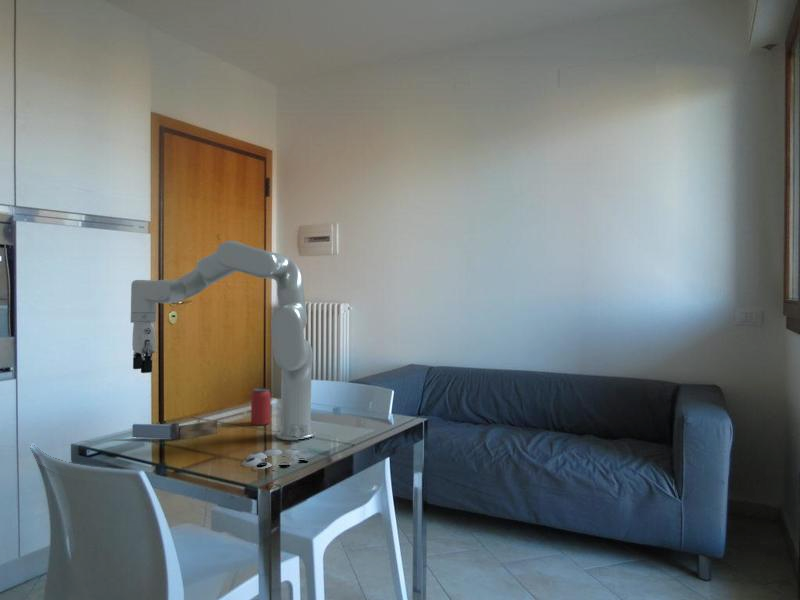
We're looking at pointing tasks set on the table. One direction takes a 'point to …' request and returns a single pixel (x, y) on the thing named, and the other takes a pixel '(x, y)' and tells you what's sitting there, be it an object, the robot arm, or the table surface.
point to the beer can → (260, 406)
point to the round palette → (257, 457)
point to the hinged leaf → (151, 431)
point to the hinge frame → (193, 430)
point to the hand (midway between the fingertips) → (142, 370)
